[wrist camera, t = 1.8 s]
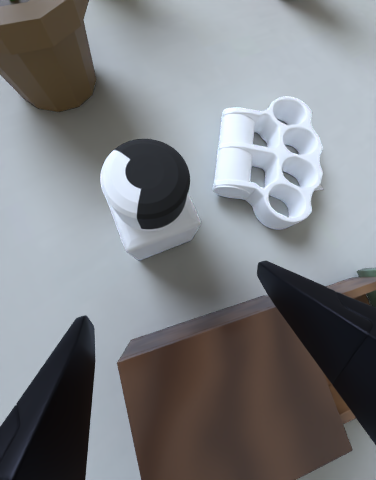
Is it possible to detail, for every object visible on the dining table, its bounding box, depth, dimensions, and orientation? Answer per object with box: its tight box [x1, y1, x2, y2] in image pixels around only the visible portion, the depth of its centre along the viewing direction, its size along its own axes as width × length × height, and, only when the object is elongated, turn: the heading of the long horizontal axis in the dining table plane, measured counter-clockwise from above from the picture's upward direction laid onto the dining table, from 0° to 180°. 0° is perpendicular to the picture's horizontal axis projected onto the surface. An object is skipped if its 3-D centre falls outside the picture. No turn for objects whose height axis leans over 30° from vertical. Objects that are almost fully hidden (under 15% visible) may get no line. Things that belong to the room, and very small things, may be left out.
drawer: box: [324, 268, 376, 424], centre depth 21 cm, size 20×11×5 cm, turn 106°
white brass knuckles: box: [213, 96, 324, 230], centre depth 26 cm, size 3×18×15 cm
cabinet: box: [117, 296, 352, 480], centre depth 19 cm, size 16×12×6 cm
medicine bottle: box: [100, 139, 201, 260], centre depth 19 cm, size 7×7×12 cm
